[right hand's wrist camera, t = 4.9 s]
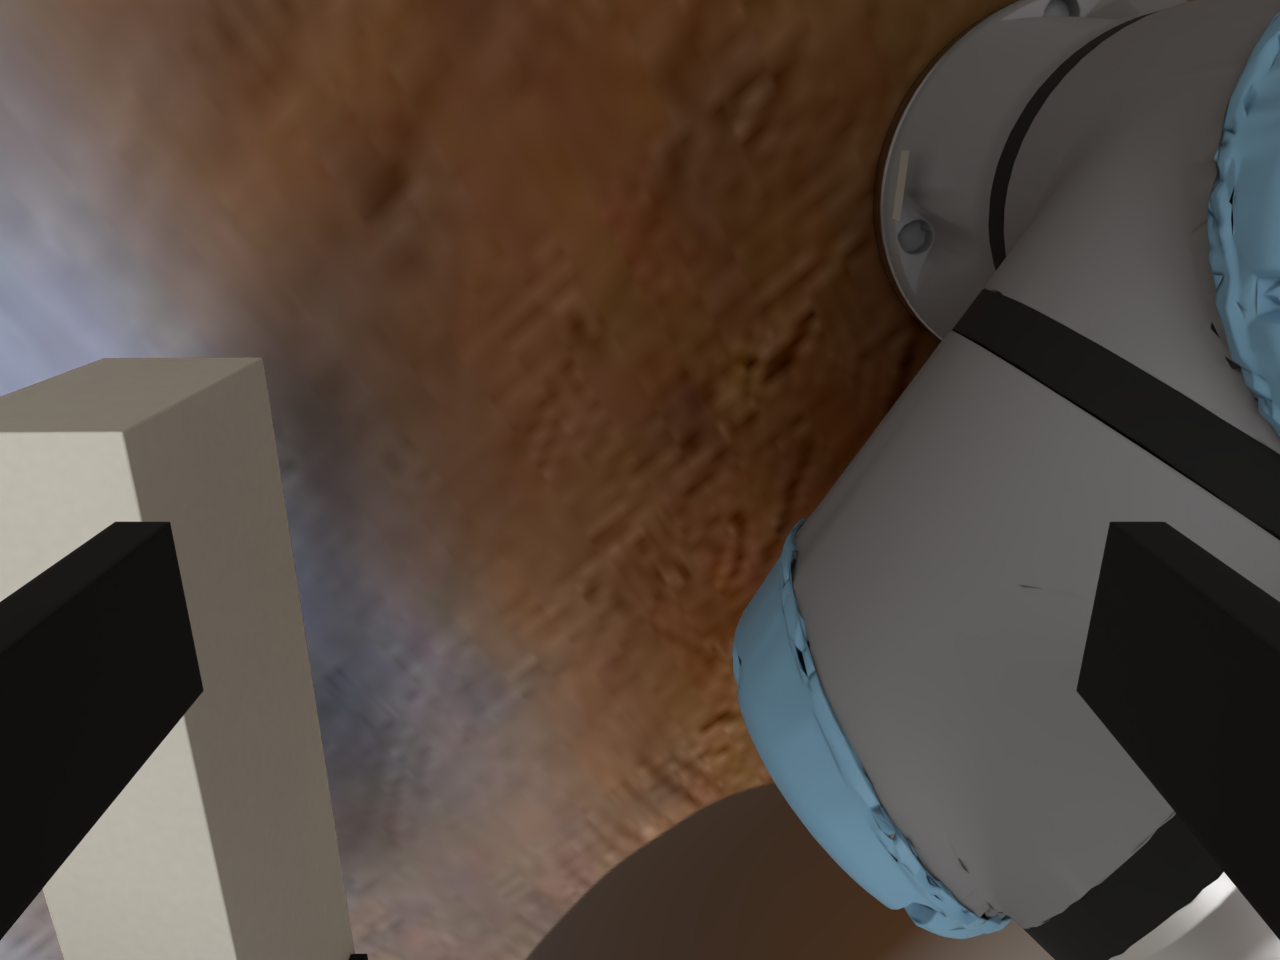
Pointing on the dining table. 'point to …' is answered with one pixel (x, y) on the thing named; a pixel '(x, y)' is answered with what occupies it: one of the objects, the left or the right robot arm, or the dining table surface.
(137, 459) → the bar
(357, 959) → the left robot arm
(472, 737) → the dining table surface
